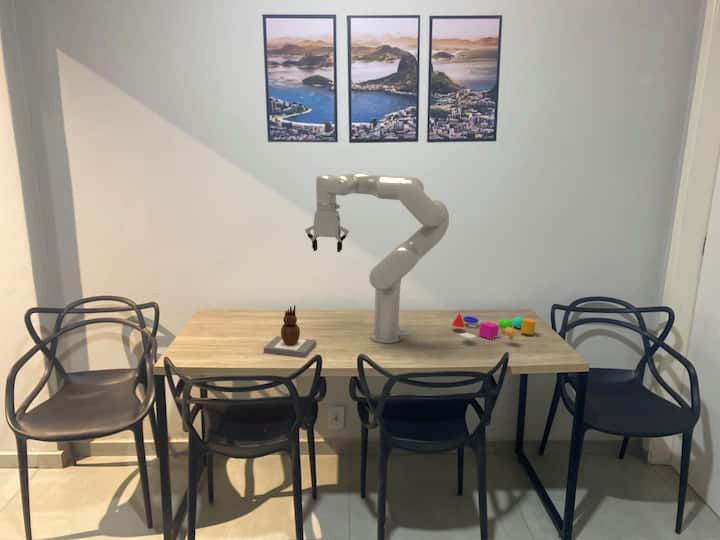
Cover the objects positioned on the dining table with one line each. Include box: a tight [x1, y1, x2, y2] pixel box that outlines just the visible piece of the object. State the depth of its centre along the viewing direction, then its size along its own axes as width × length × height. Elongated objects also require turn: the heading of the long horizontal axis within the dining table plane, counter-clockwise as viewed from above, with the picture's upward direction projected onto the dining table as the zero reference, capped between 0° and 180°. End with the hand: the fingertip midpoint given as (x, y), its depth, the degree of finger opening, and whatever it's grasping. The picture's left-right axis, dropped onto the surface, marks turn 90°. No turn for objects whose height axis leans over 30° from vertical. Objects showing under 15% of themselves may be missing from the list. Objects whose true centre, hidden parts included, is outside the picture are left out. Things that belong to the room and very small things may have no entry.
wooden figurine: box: [280, 304, 301, 345], centre depth 192 cm, size 7×6×15 cm
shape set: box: [451, 313, 536, 341], centre depth 211 cm, size 29×35×7 cm
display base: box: [263, 335, 317, 359], centre depth 194 cm, size 16×12×2 cm
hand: (327, 251), depth 205 cm, fingers open, 9 cm apart
